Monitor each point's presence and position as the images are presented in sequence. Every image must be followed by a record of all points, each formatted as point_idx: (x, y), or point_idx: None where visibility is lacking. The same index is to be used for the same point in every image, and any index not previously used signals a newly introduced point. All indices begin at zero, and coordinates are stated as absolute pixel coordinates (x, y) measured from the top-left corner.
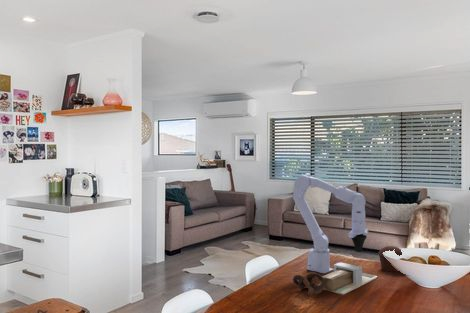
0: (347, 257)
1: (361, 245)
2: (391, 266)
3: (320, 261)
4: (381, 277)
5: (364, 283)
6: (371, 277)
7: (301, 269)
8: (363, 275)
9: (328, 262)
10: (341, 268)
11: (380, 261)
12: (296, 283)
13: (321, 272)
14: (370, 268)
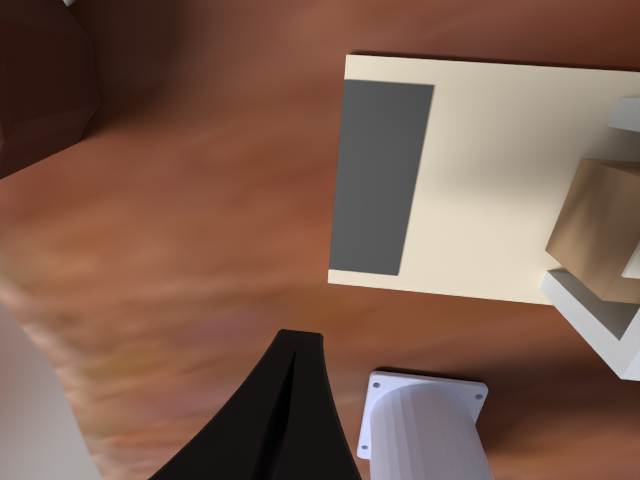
0: (71, 392)
1: (299, 408)
2: (46, 15)
3: (492, 476)
4: (321, 27)
5: (625, 72)
6: (425, 86)
7: None
8: (405, 168)
9: (440, 435)
10: (615, 320)
11: (36, 160)
12: None
13: (483, 399)
14: (155, 208)
